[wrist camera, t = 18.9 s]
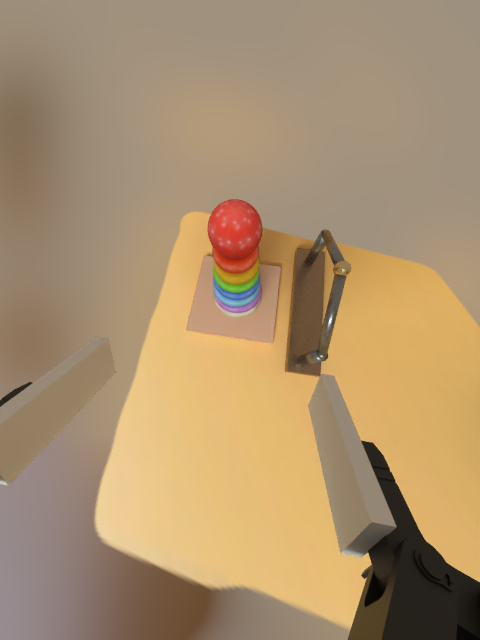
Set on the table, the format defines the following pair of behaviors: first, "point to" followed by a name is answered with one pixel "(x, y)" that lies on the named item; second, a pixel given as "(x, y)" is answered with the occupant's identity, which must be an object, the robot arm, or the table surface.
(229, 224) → the stacking toy
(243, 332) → the terracotta pad
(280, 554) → the table surface
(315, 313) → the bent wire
